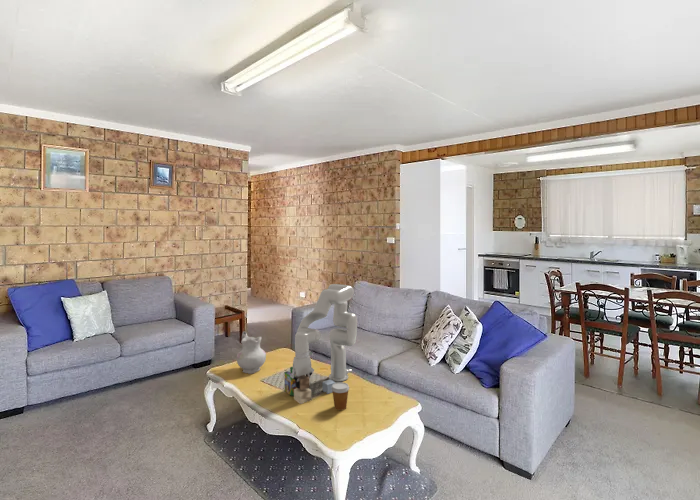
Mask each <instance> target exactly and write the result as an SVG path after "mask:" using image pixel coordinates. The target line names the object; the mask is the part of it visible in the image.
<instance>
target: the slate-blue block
mask: <svg viewBox="0 0 700 500" xmlns="http://www.w3.org/2000/svg"><path fill="white" fill-rule="evenodd" d="M334 383H336V381H332V380H330V379H328V380H323V381H322V383H321V384H322V386H321V387H322V390H323V391H322V392H324V393H325V392H326V393H325V394H327V395H328V394H333V391H332V389H331V388H332V385H333V384H334Z"/></svg>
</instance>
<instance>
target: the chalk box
mask: <svg viewBox="0 0 700 500" xmlns="http://www.w3.org/2000/svg"><path fill="white" fill-rule="evenodd" d="M289 368H290V369H289V370H287V371H285V372H284V392H285V393H287V394H288V395H290V397H294V389H296V388H297V387H296V382H295V380H294V379H293V378H291V377H290V375H291V374H292V369H293V366H290V367H289ZM295 375H296V374H295ZM295 375H294V377H295Z"/></svg>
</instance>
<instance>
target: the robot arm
mask: <svg viewBox="0 0 700 500" xmlns="http://www.w3.org/2000/svg"><path fill="white" fill-rule="evenodd" d="M354 294H355V290H354V288H353V286H351V285H346V284H339V283H337V284H336V283H332V284H330V285H329V286H328V287H327V289H322V291H321V292H320V293H319V296H318V299H317V300H316V303H315V306H314V307H313V310H312V311H311V312H309V313H307V315H306V316H304V317H303V318H302V319H301V321H300V324H299V326H298V328H297V330H296V333H295V335H294V347H295V349H294V351H295V353H294V355H295V356H294V357H293V360H292V367H293V369H292V374H291V375H290V377H291V378H293V379H294V380H295V382H296V387H297V388H298V389H299V388H300V381H299V378H300V376H302V375H306V376H307V377H309V379H311V376H312V375H313V373H314V372H315V369H314V368H313V367H312V360H311V356H310V354H311V353H312V350H310V344H315V343H317V342H319V341H320V340H321V338H322V333H321V331H319V330H318V329H315V328H310V325H311V324H313V323H314V322H316V321H319V320H322V319H325V318H326V317H327V316H328V314H329V311H330V309H331V306H332V305H333V314H332V315H333V317H332V323H333V325H334V326H336V327H339V328H332V329H331V330H330V331H329V332H328V333H329V334H328V339H329V344H330V373H329V374H328V380H332V381H334V382H345V381H347V380H348V379H349V373H352V371H353V370H352V369H351V368H350V369H348V368H347V351H346V350H347V349H346V347H353V346H354V345H355V343H356V341H357V334H358V332H357V331H358V321H359V320H358V316H357V315H356V314H355V313H352V312H348V301H350V300H351V299H352V298H353V296H354ZM343 328H346V329H343ZM295 374H296V375H295ZM294 375H295V377H294Z"/></svg>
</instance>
